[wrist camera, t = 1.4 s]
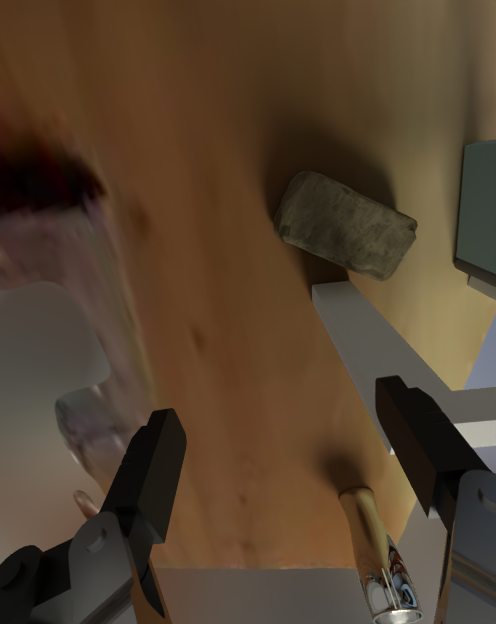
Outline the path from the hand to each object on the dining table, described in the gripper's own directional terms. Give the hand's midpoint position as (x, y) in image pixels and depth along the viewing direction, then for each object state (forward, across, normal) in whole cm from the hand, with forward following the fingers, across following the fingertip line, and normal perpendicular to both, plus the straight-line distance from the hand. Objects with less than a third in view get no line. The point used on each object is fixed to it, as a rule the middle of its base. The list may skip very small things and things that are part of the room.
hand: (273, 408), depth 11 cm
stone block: (+20, -8, -2) cm, 21 cm away
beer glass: (+20, -9, +46) cm, 51 cm away
